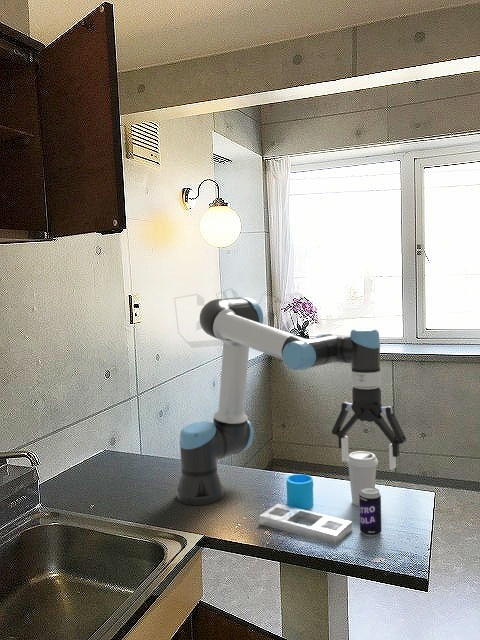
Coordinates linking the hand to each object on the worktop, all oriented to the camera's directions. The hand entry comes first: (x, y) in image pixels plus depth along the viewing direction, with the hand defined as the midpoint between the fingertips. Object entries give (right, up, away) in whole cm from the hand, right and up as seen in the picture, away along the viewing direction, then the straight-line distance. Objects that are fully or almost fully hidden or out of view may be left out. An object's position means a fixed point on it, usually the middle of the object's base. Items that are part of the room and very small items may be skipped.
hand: (368, 464), depth 151 cm
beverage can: (+1, -19, +2) cm, 20 cm away
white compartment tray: (-16, -19, +7) cm, 26 cm away
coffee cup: (+3, -18, +22) cm, 28 cm away
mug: (-15, -18, +24) cm, 34 cm away
